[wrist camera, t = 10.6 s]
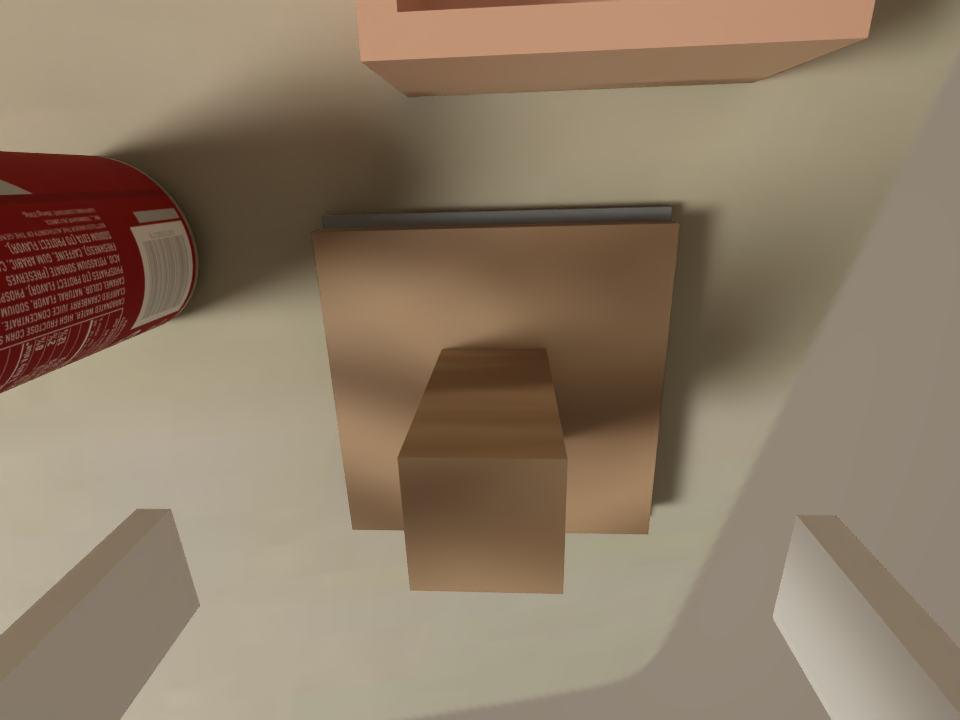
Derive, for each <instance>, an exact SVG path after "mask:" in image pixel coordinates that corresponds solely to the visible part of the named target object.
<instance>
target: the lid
mask: <svg viewBox="0 0 960 720" xmlns="http://www.w3.org/2000/svg"><path fill="white" fill-rule="evenodd" d="M679 228H680V223H677V222H673V221H670V220H669V221H628V222H587V223H546V224H505V225H464V226H423V227H382V228H341V229H321V230H317V231H314V232H311V234H312V242H313V249H314V256H315V263H316V270H317V278H318V285H319V292H320V299H321V306H322V313H323V321H324V328H325V335H326V342H327V349H328V357H329V364H330V371H331V378H332V385H333V393H334V400H335V407H336V414H337V421H338V429H339V436H340V443H341V450H342V457H343V465H344V472H345V479H346V486H347V493H348V500H349V508H350V515H351V522H352V529H353V530H404V532H405V542H406V553H407V563H408V573H409V584H410V590H419V591H460V592H501V593H543V594H563V580H564V551H565V533H600V534H648V530H649V521H650V511H651V501H652V491H653V482H654V472H655V462H656V452H657V442H658V433H659V423H660V413H661V403H662V394H663V384H664V374H665V364H666V355H667V345H668V335H669V325H670V316H671V306H672V296H673V286H674V277H675V267H676V257H677V247H678V238H679Z"/></svg>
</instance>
